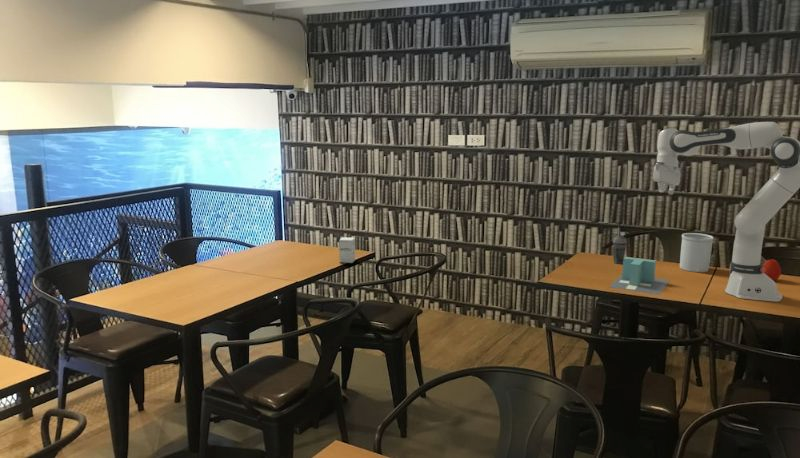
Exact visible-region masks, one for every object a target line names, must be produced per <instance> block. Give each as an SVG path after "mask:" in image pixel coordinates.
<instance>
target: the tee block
mask: <svg viewBox="0 0 800 458" xmlns="http://www.w3.org/2000/svg"><path fill="white" fill-rule="evenodd" d="M656 264H657V260H656V259H654V260H653V259H647V258H640V257H639V258H638V257H630V256H624V259H623V265H622V273H621V274H622V279H628V280H629V285H635V286H638V285H639V284H640V283H641V282H642V281H643V282H650V283H653V282H654V280H655V278H656V277H655V276H656V266H657V265H656Z"/></svg>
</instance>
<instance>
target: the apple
mask: <svg viewBox="0 0 800 458" xmlns="http://www.w3.org/2000/svg"><path fill="white" fill-rule="evenodd" d="M762 265H764V267H765V269H766V271H765V272H764V273H765V274H766V275H767V276H768V277H769V278H771V279H772V280H773V281H774V282H775V281H777V280H778V279H779V278H780V277H781V275H782V270H781V266H780V264H779V262H778V261H777V260H776V259H773V258H771V259H767V260H765V262H764V263H763V264H762Z"/></svg>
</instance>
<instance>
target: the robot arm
mask: <svg viewBox="0 0 800 458" xmlns="http://www.w3.org/2000/svg"><path fill="white" fill-rule="evenodd" d="M677 129H678V128H677ZM677 129H676V128H674V127H669V128H665V129H663V130H660V131H659V133H658V137H657V143H656V148H657V154H656V163H655V165H654V168H653V173H652V174H653V175H652V181H653V182H657V186H658V187H657V188H658V192H659V193H664V192H665V187H664V184H665V185H668V187H669V188H668V190H667V193H668V195H674V190H675V187H676V186H679V185H680V182H681V169H682V164H681V163H680V162H679V160H678V156H679V155H680V156H685V157H692V156H695V155H696V154H697V153H698V152H699V150H701V147H705V146H714V145H715V146H716V145H717V146H718V145H720V146H725V147H728V148H731V149H734V150H751V149H752V150H753V149H758V148H767V149H769V150H770V151H769V153H770V155H771V158H772V159H773V160H774V162H775V163H776V164H777V166H778V169H777V170H776V172H775V173H774V174H773V175H772V176H771V177H770V178H769V180H767V182H766V183H765V184H763V186H762V187H761V188H760V189H759V190H758V192H757V193H756V194H755V195H754V196H753V197H752V198H751V199H750V201H748V202H747V203H746V205H745V206H743V208H742V209H741V210H740V211H739V212H738V213H737V214H736V216H735V218H734V226H735V228H736V230H735V235H734V236H735V237H734V240H733V241H734V242H733V248H732V256H731V261H730V264H729V278H728V282H727V285H726V287H725V290H724V292H725V293H727V295H731V296H734V297H736V298H739V299H741V300H742V299H745V300H755V301H764V302H775V303H776V302H777V303H778V302H782V301H783V294H781V293H780V292H779V291H778V285H777V283H776V282H775V281H773V280H772V279H771V278H769V277H768V276H767V275H766V274H765V273H764V272H765V271H766V269H765V267H764V265H763V264H762V263H761V258H762V249H763V244H764V243H763V242H764V237H765V229H766V224H768V223H769V221H770V220H771V219H773V217H774V216H775V215H776V214H777V213H778V212H779V211H780V210H781V208H782V207H784V205H785V204H786V203H787V202H788V201H789V200H790V199H791V198H792V197H793V195H795V193H797V192H798V191H799V189H800V140H798V139H797V138H795V137H791V136H788V135H785V134H782V129H781V127H780V125H779V124H778V123H777V122H775V121H759V122H758V121H757V122H756V121H755V122H750V123H749V122H748V123H743V124H738V125H733V126H729V127H725V128H720V129H712V130H704V131H690V130H685V129H680V130H677Z"/></svg>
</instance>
